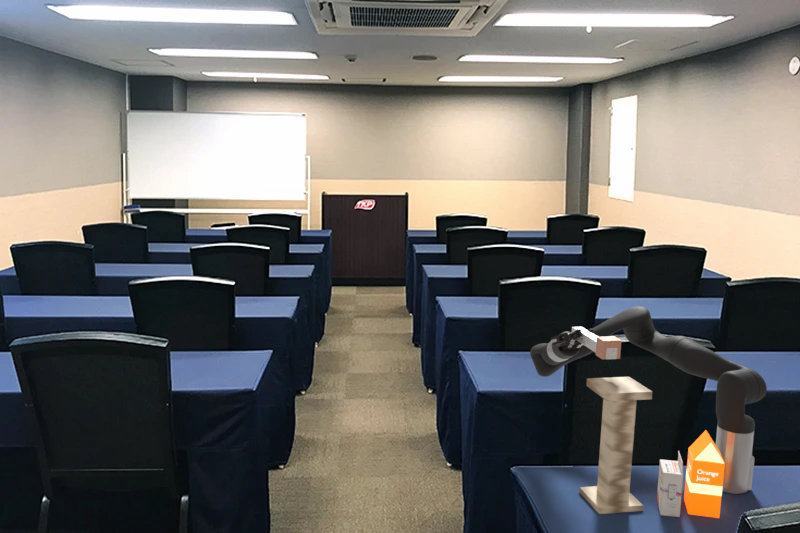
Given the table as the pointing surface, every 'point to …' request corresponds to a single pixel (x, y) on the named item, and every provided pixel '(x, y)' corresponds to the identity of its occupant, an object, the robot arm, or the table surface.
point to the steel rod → (600, 344)
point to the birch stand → (615, 444)
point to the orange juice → (704, 478)
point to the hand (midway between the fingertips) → (585, 332)
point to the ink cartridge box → (670, 487)
